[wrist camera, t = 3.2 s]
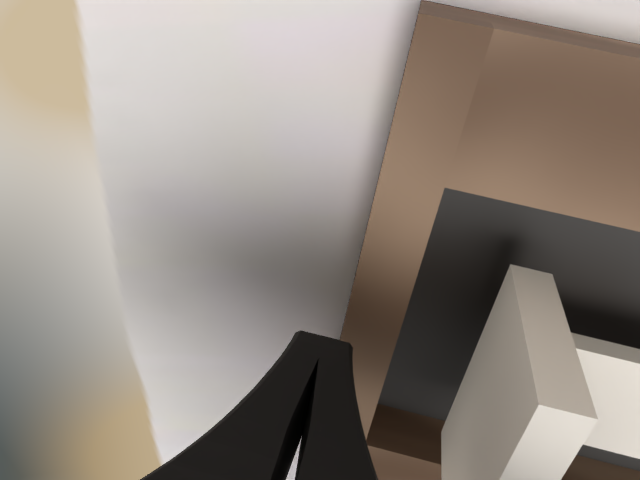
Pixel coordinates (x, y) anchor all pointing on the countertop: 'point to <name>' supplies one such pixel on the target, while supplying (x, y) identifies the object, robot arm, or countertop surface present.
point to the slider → (538, 391)
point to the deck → (493, 217)
